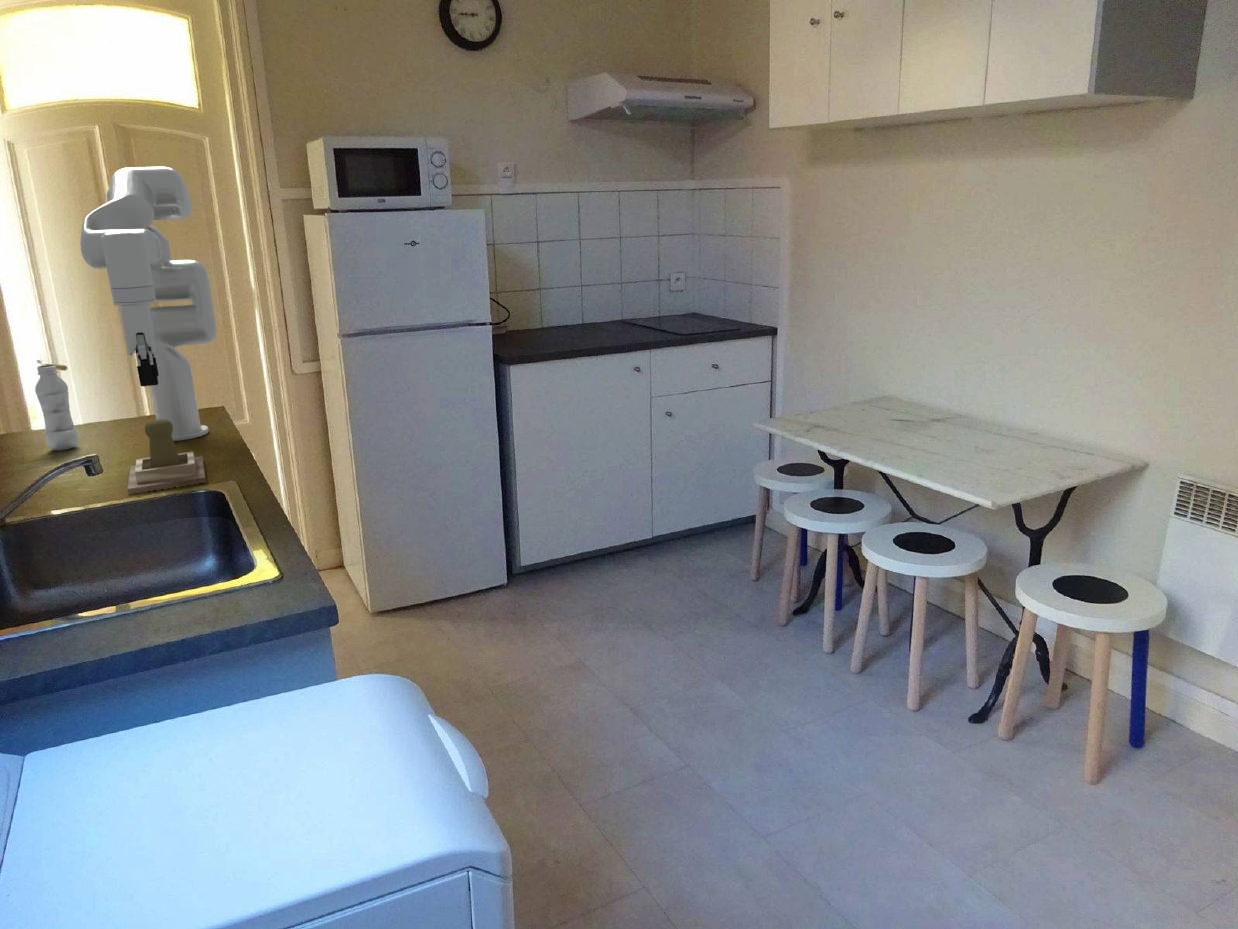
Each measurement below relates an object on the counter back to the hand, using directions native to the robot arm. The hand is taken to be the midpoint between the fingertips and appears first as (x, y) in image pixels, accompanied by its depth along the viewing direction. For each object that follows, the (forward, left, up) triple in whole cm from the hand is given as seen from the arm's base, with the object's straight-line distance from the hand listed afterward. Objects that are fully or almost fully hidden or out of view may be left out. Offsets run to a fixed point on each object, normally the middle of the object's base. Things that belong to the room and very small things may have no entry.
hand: (150, 381), depth 177 cm
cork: (0, 0, -19) cm, 19 cm away
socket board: (+1, 0, -20) cm, 20 cm away
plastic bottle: (-39, -22, -21) cm, 49 cm away
